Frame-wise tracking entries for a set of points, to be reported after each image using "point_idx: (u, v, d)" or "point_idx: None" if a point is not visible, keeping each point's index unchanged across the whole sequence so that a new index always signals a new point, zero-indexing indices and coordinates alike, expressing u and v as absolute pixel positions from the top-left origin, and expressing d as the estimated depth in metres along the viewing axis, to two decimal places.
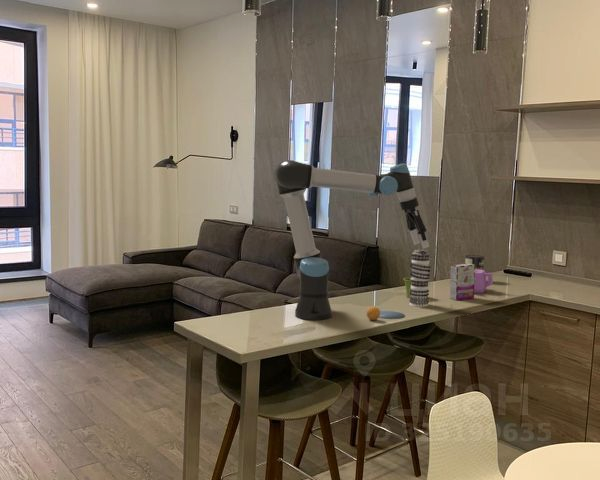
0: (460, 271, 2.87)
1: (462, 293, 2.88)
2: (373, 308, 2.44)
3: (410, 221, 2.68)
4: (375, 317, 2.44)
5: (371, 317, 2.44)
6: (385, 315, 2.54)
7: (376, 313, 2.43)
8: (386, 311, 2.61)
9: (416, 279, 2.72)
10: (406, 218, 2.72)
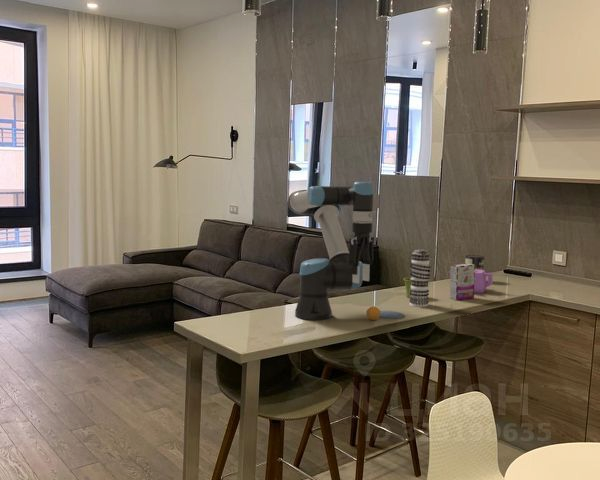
0: (460, 271, 2.87)
1: (462, 293, 2.88)
2: (373, 308, 2.44)
3: (362, 248, 2.38)
4: (375, 317, 2.44)
5: (371, 317, 2.44)
6: (385, 315, 2.54)
7: (376, 313, 2.43)
8: (386, 311, 2.61)
9: (416, 279, 2.72)
10: None
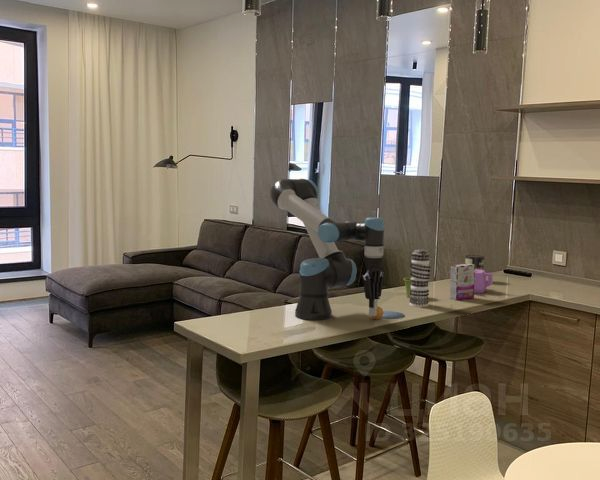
0: (460, 271, 2.87)
1: (462, 293, 2.88)
2: (378, 306, 2.46)
3: None
4: (378, 315, 2.45)
5: None
6: (385, 315, 2.54)
7: (380, 311, 2.45)
8: (386, 311, 2.61)
9: (416, 279, 2.72)
10: None
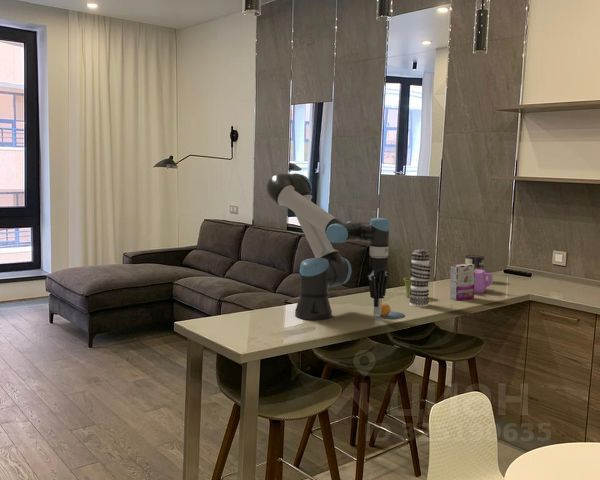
0: (460, 271, 2.87)
1: (462, 293, 2.88)
2: None
3: None
4: (386, 305, 2.51)
5: (383, 303, 2.52)
6: None
7: (389, 306, 2.52)
8: None
9: (416, 279, 2.72)
10: None
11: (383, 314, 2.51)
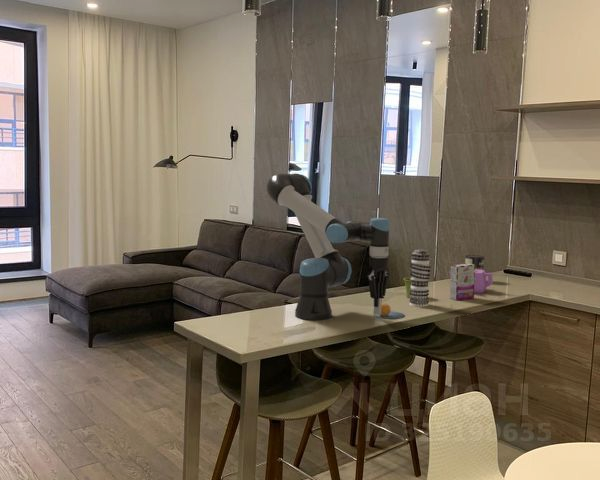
0: (460, 271, 2.87)
1: (462, 293, 2.88)
2: None
3: None
4: (386, 305, 2.51)
5: (383, 303, 2.52)
6: None
7: (389, 306, 2.52)
8: None
9: (416, 279, 2.72)
10: None
11: (383, 314, 2.51)
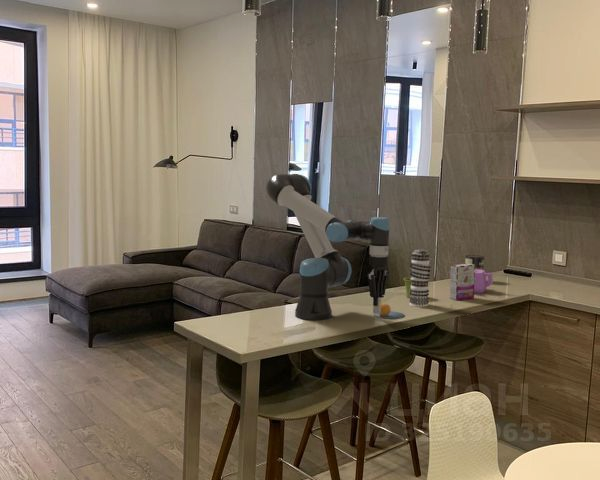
0: (460, 271, 2.87)
1: (462, 293, 2.88)
2: None
3: None
4: (386, 305, 2.51)
5: (383, 303, 2.52)
6: None
7: (389, 306, 2.52)
8: None
9: (416, 279, 2.72)
10: None
11: (383, 314, 2.51)
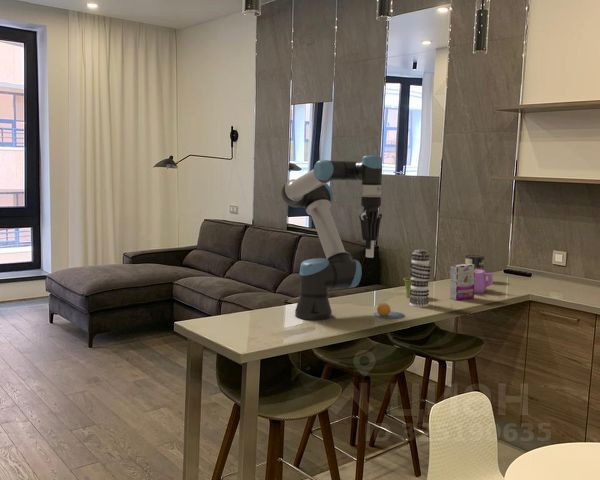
0: (460, 271, 2.87)
1: (462, 293, 2.88)
2: None
3: None
4: (386, 305, 2.51)
5: (383, 303, 2.52)
6: None
7: (389, 306, 2.52)
8: None
9: (416, 279, 2.72)
10: None
11: (383, 314, 2.51)
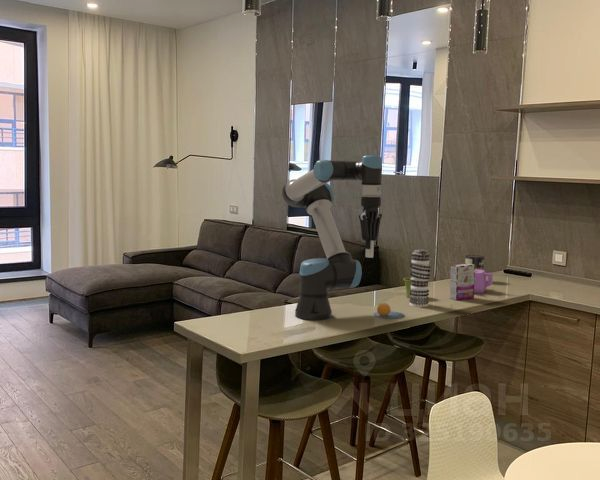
0: (460, 271, 2.87)
1: (462, 293, 2.88)
2: None
3: None
4: (386, 305, 2.51)
5: (383, 303, 2.52)
6: None
7: (389, 306, 2.52)
8: None
9: (416, 279, 2.72)
10: None
11: (383, 314, 2.51)
